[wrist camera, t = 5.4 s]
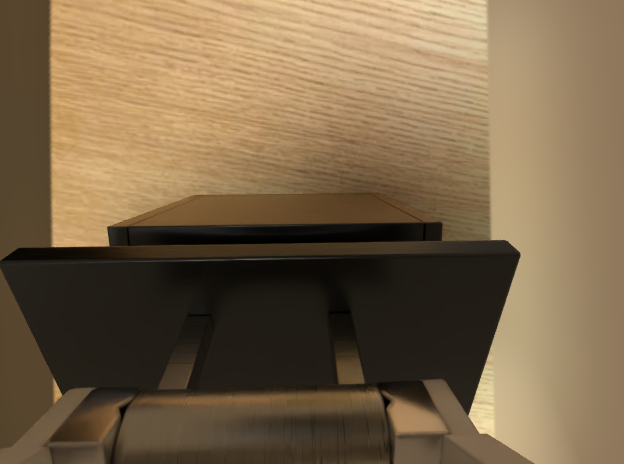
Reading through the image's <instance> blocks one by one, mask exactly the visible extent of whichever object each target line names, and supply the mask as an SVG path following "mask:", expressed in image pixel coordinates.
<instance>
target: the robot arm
mask: <svg viewBox="0 0 624 464" xmlns="http://www.w3.org/2000/svg"><path fill="white" fill-rule="evenodd" d="M375 384H376V385H377V386H378V387H379V389H380V391H381V394H382V396H383V399H384V403H385V407H386V416H387V422H388V429H389V439H390V456H391V464H534V463H533V462H531V461H529V460H528V459H526V458H525V457H523V456H521V455H520V454H518V453H517V452H515V451H514V450H512V449H510V448H509V447H507V446H506V445H504V444H502V443H501V442H499V441H498V440H496V439H495V438H493V437H491V436H490V435H488V434H479V432H478V431H477V429H476V428H475V426H474V425H473V423H472V421H471V420H470V418H469V417H468V415H467V414H466V412H465V411H464V409H463V408H462V406H461V405H460V403H459V401H458V400H457V398H456V397H455V395H454V394H453V392H452V391H451V389H450V388H449V386H448V385H447V383H446V382H445V381H444V380H443V379H426V380H419V381H393V382H375ZM144 390H146V389H145V388H143V387H99V388H74V389H71V390H68V391H67V392H66V393H65V394H64V395H63V396H62V397H61V398H60V399H59V400H58V401H57V402H56V403H55V404H54V405H53V406H52V407H51V408H50V409H49V410H48V411H47V412H46V413H45V414H44V415H43V416H42V417H41V418H40V419H39V420H38V421H37V422H36V423H35V424H34V425H33V426H32V427H31V428H30V429H29V430H28V431H27V432H26V433H25V434H24V435H23V436H22V437H21V438H20V439H19V440H18V441H17V442H16V443H15V444H14V445H13V446H12V447H11V448H2V449H0V464H113V455H114V448H115V442H116V438H117V434H118V430H119V427H120V424H121V420H122V418H123V415H124V413H125V411H126V409H127V407H128V405H129V403H130V402H131V400H132V399H133V398H134V397H135V396H136V395H137V394H138V393H140V392H142V391H144Z"/></svg>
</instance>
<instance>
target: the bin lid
mask: <svg viewBox="0 0 624 464" xmlns="http://www.w3.org/2000/svg"><path fill="white" fill-rule="evenodd" d="M519 259H520V252H519V251H518V250H517V249H515V248H514V247H513V246H512V245H511V244H510V243H509V242H508V241H505V240H484V241H421V242H358V243H295V244H232V245H169V246H106V247H45V248H18V249H17V250H15V251H14V252H12V253H11V254H9V255H8V256H6V257H5V258H4V259H2V260H1V261H0V268H1V270H2V272H3V274H4V276H5V279H6V280H7V283H8V285H9V287H10V289H11V291H12V293H13V295H14V297H15V299H16V301H17V303H18V305H19V307H20V309H21V311H22V313H23V315H24V317H25V319H26V322H27V324H28V326H29V328H30V330H31V332H32V334H33V336H34V338H35V340H36V342H37V344H38V346H39V348H40V350H41V352H42V354H43V356H44V358H45V361H46V363H47V365H48V366H49V368H50V371H51V373H52V375H53V377H54V379H55V381H56V383H57V385H58V387H59V389H60V391H61V393H62V395H64V394H65V393H66V392H67V391H68V390H71V389H74V388H99V387H143V388H145V389H146V390H144V391H142V392H140V393H138V394H137V395H136V396H135V397H134V398H133V399H132V400H131V402H130V403H129V405H128V407H127V409H126V411H125V413H124V415H123V418H122V420H121V424H120V427H119V430H118V434H117V438H116V442H115V448H114V455H113V464H391V456H390V439H389V429H388V422H387V416H386V407H385V403H384V399H383V396H382V394H381V391H380V389H379V387H378V386H377V385H376V384H375V382H393V381H419V380H426V379H443V380H444V381H445V382H446V383H447V385H448V386H449V388H450V389H451V391H452V392H453V394H454V395H455V397H456V398H457V400H458V401H459V403H460V405H461V406H462V408H463V409H464V411H465V412H466V414H467V415H469V412H470V409H471V406H472V403H473V400H474V397H475V394H476V391H477V388H478V384H479V381H480V378H481V375H482V372H483V369H484V366H485V363H486V360H487V357H488V354H489V351H490V348H491V345H492V341H493V338H494V335H495V332H496V329H497V326H498V323H499V320H500V317H501V314H502V311H503V307H504V305H505V302H506V298H507V295H508V292H509V289H510V286H511V283H512V280H513V277H514V274H515V271H516V268H517V265H518V262H519Z"/></svg>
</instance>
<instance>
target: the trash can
mask: <svg viewBox="0 0 624 464" xmlns="http://www.w3.org/2000/svg"><path fill="white" fill-rule="evenodd" d="M442 226H443V223H442V222H440V221H438V220H436V219H434V218H431V217H429V216H427V215H425V214H423V213H420V212H418V211H416V210H414V209H412V208H409V207H407V206H405V205H403V204H401V203H399V202H396V201H394V200H392V199H390V198H388V197H385V196H383V195H381V194H379V193H353V194H262V195H194V196H191V197H188V198H185V199H183V200H180V201H177V202H175V203H172V204H169V205H166V206H164V207H161V208H158V209H155V210H153V211H150V212H147V213H144V214H142V215H139V216H136V217H133V218H131V219H128V220H125V221H122V222H120V223H117V224H114V225H112V226H109V227H107V229H108V237H109V244H110V246H169V245H232V244H295V243H358V242H421V241H441V240H442Z"/></svg>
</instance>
